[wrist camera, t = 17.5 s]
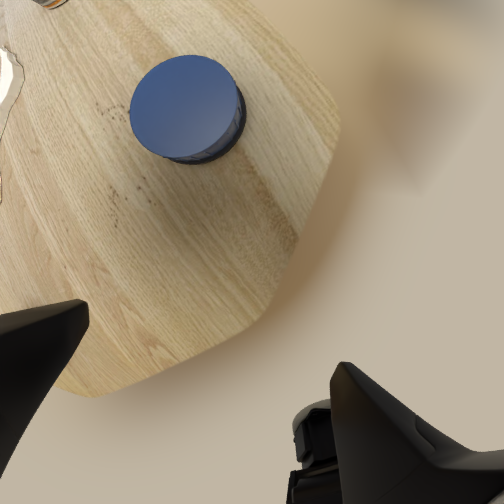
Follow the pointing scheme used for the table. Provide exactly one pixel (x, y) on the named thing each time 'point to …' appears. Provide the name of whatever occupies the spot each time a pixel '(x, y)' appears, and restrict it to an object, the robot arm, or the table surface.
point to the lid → (186, 108)
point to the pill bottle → (49, 3)
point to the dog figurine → (8, 86)
